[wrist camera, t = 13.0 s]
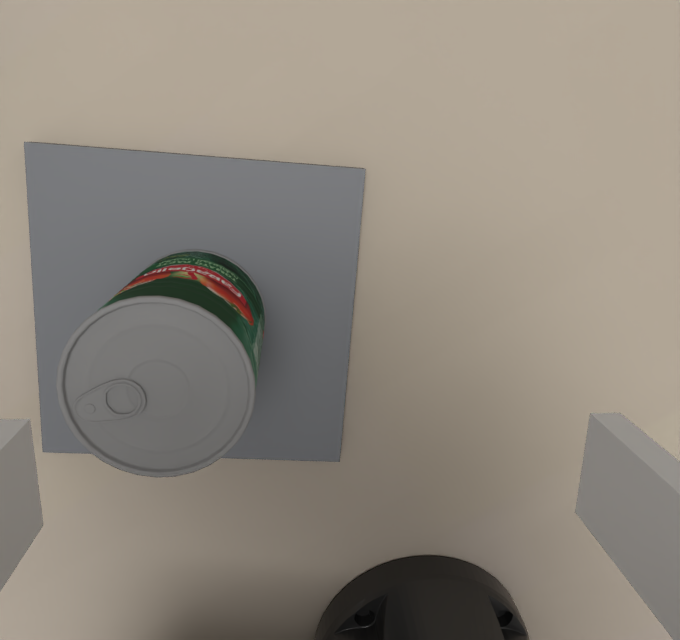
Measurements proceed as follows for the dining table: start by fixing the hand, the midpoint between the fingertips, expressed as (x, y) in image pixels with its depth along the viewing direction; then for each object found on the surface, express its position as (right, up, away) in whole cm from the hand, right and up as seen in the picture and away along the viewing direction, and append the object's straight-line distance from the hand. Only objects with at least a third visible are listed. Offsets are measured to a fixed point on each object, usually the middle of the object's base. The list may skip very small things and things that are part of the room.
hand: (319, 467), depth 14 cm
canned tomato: (-8, +4, +21) cm, 23 cm away
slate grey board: (-8, +4, +22) cm, 23 cm away
